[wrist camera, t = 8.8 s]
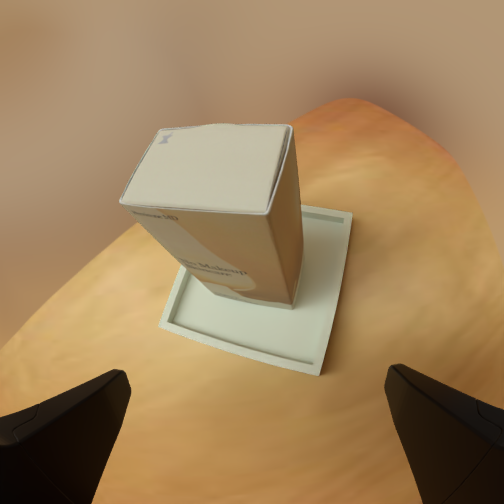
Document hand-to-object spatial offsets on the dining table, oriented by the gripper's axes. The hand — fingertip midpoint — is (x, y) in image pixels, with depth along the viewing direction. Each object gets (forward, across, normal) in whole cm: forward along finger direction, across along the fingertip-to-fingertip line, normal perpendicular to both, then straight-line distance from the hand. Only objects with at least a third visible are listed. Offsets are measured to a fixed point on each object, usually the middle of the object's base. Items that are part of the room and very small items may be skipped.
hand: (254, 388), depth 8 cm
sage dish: (+13, 0, 0) cm, 13 cm away
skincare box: (+13, 0, 0) cm, 13 cm away
